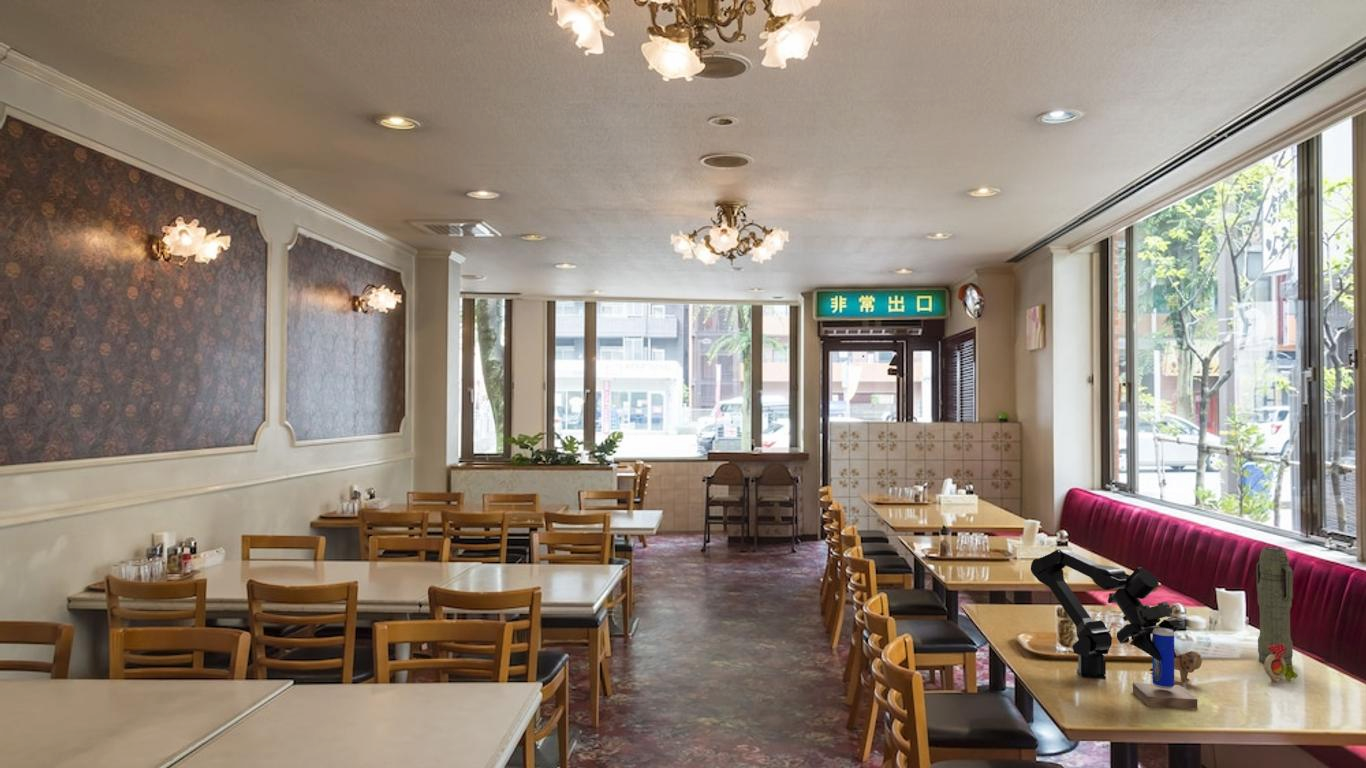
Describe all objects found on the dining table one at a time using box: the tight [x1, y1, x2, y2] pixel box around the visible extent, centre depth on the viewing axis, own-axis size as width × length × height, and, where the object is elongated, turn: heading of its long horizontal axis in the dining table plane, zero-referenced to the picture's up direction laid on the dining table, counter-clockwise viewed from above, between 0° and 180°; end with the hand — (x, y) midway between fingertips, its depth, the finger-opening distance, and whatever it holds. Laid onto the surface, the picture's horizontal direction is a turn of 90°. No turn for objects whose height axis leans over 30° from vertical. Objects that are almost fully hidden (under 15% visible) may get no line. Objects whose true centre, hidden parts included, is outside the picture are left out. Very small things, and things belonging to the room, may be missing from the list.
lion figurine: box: [1149, 650, 1203, 684], centre depth 260 cm, size 15×5×9 cm, turn 37°
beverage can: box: [1151, 628, 1175, 689], centre depth 241 cm, size 5×5×15 cm
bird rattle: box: [1263, 643, 1299, 683], centre depth 258 cm, size 6×11×9 cm
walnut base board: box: [1132, 682, 1198, 709], centre depth 240 cm, size 12×12×2 cm
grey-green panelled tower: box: [1255, 546, 1294, 666], centre depth 277 cm, size 9×12×35 cm
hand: (1167, 659), depth 240 cm, fingers closed on beverage can, 5 cm apart
